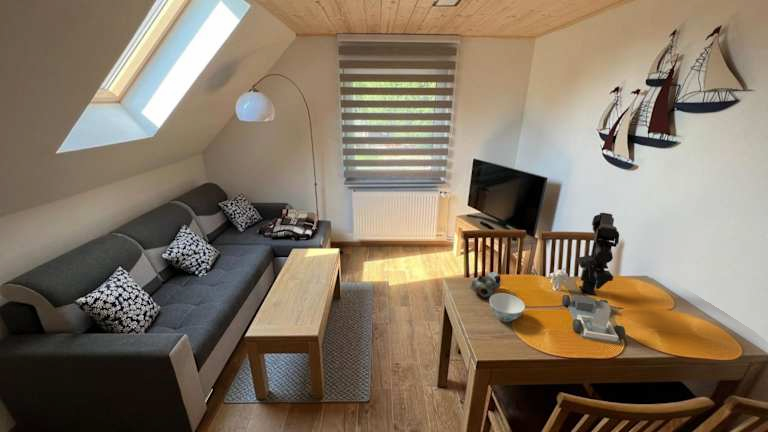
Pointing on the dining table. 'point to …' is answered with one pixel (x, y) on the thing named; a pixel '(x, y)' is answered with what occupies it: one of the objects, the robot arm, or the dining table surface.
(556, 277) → the hat wearing toy figure
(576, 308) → the chassis
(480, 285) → the grey lumpy piece
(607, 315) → the grey plastic box
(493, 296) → the chinaware
